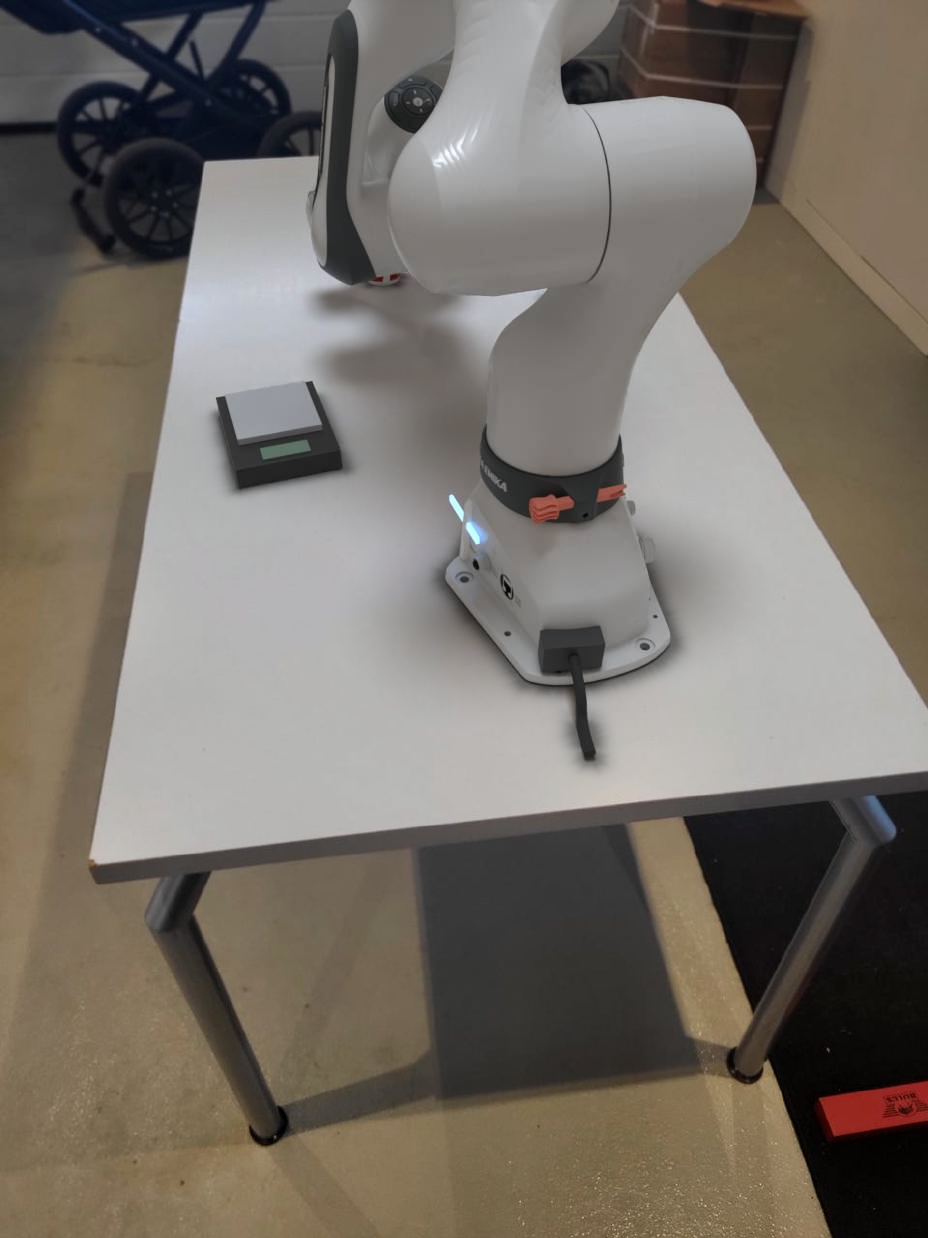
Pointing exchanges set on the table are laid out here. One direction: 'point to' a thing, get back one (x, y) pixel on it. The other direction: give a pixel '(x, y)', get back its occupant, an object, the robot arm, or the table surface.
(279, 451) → the kitchen scale
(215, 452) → the table surface
